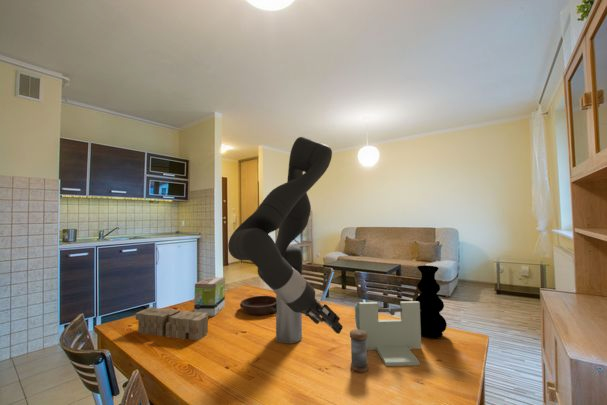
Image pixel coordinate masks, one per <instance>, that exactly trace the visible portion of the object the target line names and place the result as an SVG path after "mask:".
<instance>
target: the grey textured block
mask: <svg viewBox="0 0 607 405" xmlns="http://www.w3.org/2000/svg"><path fill="white" fill-rule="evenodd" d="M135 320H137V321H138V326H137V333H138V334H142V335H150V336H151V335H152V336H158V337H163V336H165V337H166V338H167V337H168V338H174V339H175V338H176V339H181V340H186V339H187V338H188V340H191V341H198V342H199V341H201V340H202V339H204V338H205V337H206V336H207V335H208V331H209V327H208V326H209V316H208V313H202V312H194V311H192V310H191V311H189V310H182V311H181V310H180V309H172V308H159V307H156V308H155V307H154V306H150V307H147V308H145V309H142V310H140V311H138V312H135Z"/></svg>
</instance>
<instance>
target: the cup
mask: <svg viewBox="0 0 607 405" xmlns="http://www.w3.org/2000/svg"><path fill="white" fill-rule="evenodd" d="M354 319H355V320H354V321H355V326H356V327H355V328H356V330H360V320H359V302H357V303H355V305H354Z"/></svg>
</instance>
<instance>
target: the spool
mask: <svg viewBox="0 0 607 405" xmlns="http://www.w3.org/2000/svg"><path fill="white" fill-rule="evenodd" d="M349 338H350V354H351V356H350V357H351V358H350V359H351V362H350V370H351V371H353V372H354V373H357V374H364V373H367V372H368V371H369V364H368V354H367V351H368V350H367V346H366V339H367V332H366V331H363V330H358V329H352V330H350V331H349Z"/></svg>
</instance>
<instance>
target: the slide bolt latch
mask: <svg viewBox="0 0 607 405" xmlns="http://www.w3.org/2000/svg"><path fill="white" fill-rule="evenodd" d="M358 303H359V320H360V330H363V331H366V332H367V339H366V346H367V351H373V350H374V351H376V352H377V353H378V355H379V357H380V358H381V360H382V362H383V363H384V365H385V366H386V367H398V366H401V367H402V366H403V367H404V366H405V367H406V366H420V363H421V362H420V360H419V359H418V358H417V357H416V355H415V354H414V353H413V352H412V351H411V350H414V349H416V350H420V349H422V335H421V326H420V302H418V301H415V300H412V301H411V300H410V301H409V300H407V301H405V300H404V301H402V300H401V301H399V303H400V306H399V307H387V308H385V307H384V308H383V307H380V308H379V303H378V302H377V301H366V302H365V301H363V302H360V301H359V302H358ZM397 312H399V313H400V319H379V313H389V314H390V315H391V316H394V315H395V313H397Z"/></svg>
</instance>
